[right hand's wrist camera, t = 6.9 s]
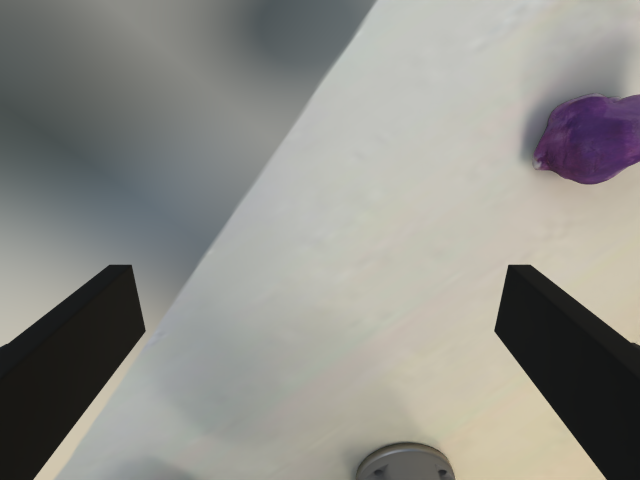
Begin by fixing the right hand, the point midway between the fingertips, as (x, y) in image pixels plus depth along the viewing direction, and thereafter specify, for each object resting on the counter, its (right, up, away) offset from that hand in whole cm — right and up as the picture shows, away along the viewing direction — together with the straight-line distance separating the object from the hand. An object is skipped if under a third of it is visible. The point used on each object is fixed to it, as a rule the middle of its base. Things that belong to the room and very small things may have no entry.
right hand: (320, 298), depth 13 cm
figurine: (+27, +14, +25) cm, 39 cm away
